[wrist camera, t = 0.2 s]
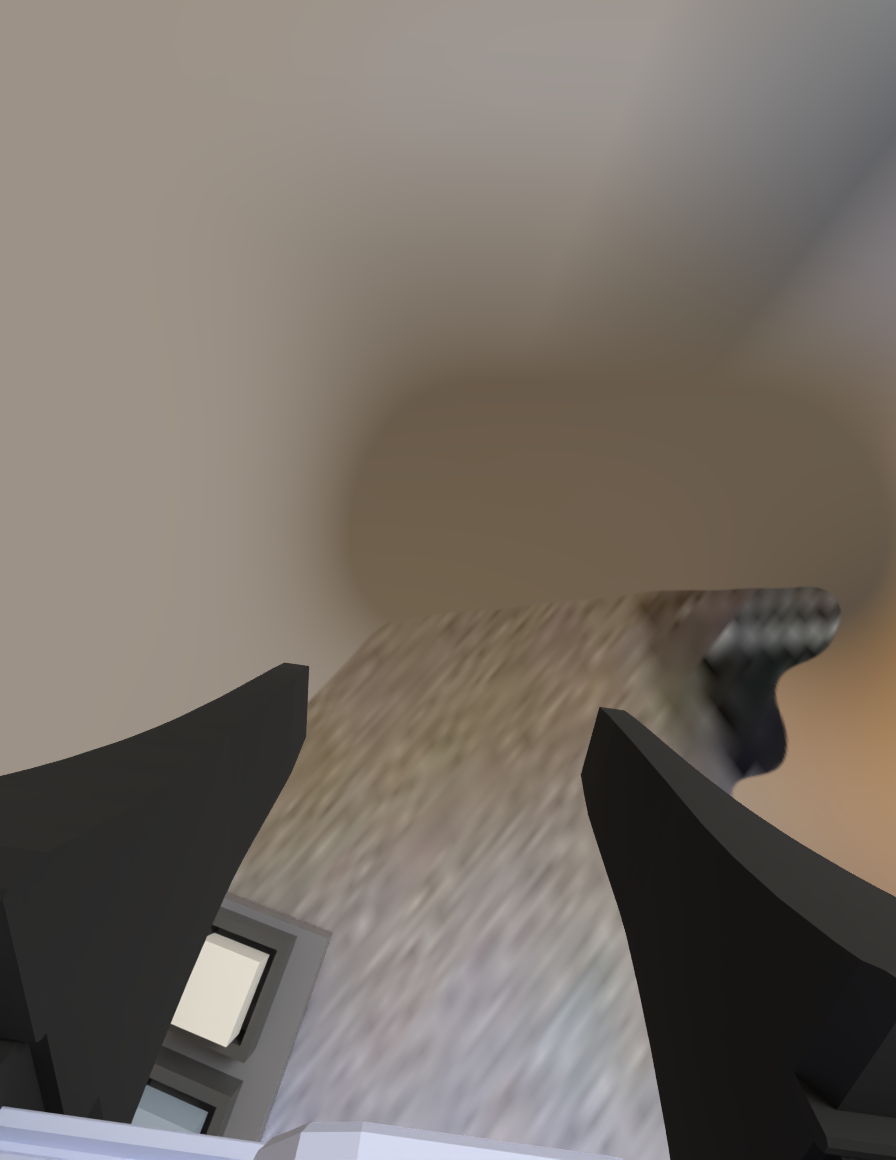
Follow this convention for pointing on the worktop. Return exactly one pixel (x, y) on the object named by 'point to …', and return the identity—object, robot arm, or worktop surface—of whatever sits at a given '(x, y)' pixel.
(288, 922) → the key panel
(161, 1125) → the slate blue key
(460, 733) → the worktop surface
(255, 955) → the off-white key
